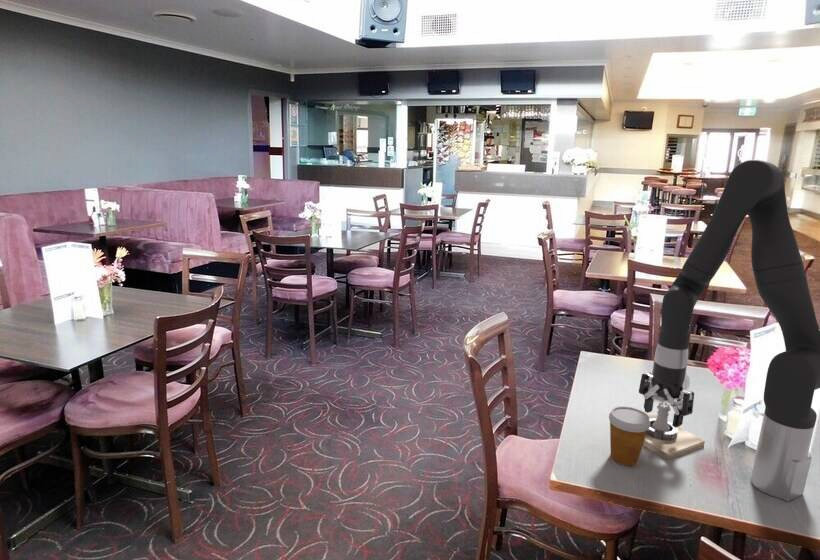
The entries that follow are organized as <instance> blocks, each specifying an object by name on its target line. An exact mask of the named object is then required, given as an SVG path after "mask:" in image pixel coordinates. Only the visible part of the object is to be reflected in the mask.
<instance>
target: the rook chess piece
mask: <svg viewBox="0 0 820 560" xmlns="http://www.w3.org/2000/svg"><path fill="white" fill-rule="evenodd" d="M670 407H671V405H670V403H669V404H668V403H666V402H659V403H658V405H657V406H656V408H657V410H658V411H657V419H656V421H655V422H654V423H653V424H652V428H653V429H655V430H658V431H661V432H669V430H670V427H669V425H668V421H669V420H668V418H669V415H670V414H669V412H671V408H670Z"/></svg>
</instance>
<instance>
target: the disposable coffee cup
mask: <svg viewBox="0 0 820 560" xmlns="http://www.w3.org/2000/svg"><path fill="white" fill-rule="evenodd" d="M608 419H609V429H610V430H609V435H610V436H609V439H610V441H609V442H610V444H609V445H610V449H609V450H610V459H611V460H612V461H613V462H615V463H617V464H619V465H621V466H625V467H634V466H636V465H637V464H638V463H639V459H640V455H641V452H642V450H643V449H642V448H643V446H644V445H643V443H644V440H645V437H646V433H647V430H648V429H649V427H650V426H651V422H650V420H649V416H648V414H647V412H645V411H643V410H641V409H639V408H636V407H632V406H625V405H623V406H622V405H621V406H616V407H614V408H613V407H612V409H611V411H610V412H609V413H608Z"/></svg>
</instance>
